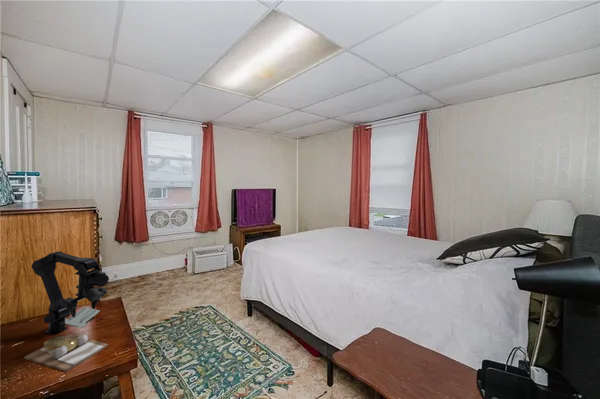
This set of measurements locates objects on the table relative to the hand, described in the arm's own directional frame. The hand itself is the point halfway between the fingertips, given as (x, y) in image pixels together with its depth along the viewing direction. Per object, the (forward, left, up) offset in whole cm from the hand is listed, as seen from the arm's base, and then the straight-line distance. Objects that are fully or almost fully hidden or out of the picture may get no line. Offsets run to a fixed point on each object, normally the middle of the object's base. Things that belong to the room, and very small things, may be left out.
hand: (83, 312), depth 128 cm
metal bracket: (-14, +11, -13) cm, 22 cm away
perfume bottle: (+3, -11, -11) cm, 16 cm away
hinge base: (+7, -11, -12) cm, 18 cm away
